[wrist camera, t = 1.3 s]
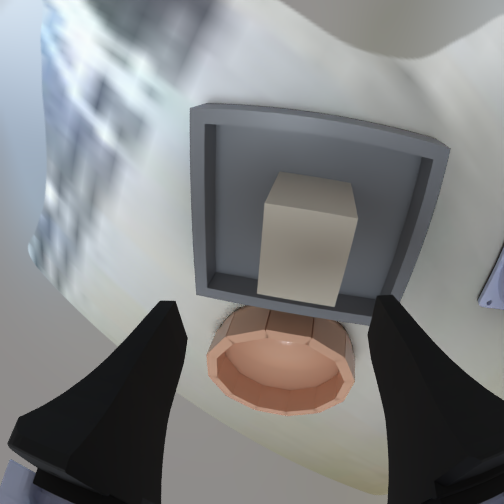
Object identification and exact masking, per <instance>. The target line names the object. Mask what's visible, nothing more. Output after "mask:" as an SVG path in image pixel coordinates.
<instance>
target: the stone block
mask: <svg viewBox="0 0 504 504" xmlns="http://www.w3.org/2000/svg"><path fill="white" fill-rule="evenodd" d="M357 221H358V216H357V210H356V205H355V200H354V195H353V190H352V186H351V183H348V182H342V181H337V180H331V179H325V178H319V177H313V176H306V175H300V174H293V173H286V172H279V173H278V176H277V178H276V180H275V182H274V184H273V186H272V188H271V190H270V193H269V195H268V197H267V199H266V201H265V204H264V216H263V228H262V240H261V252H260V264H259V276H258V288H257V294H262V295H267V296H273V297H278V298H284V299H290V300H295V301H301V302H307V303H313V304H319V305H325V306H331V307H334V306H335V303H336V300H337V296H338V293H339V290H340V286H341V283H342V279H343V276H344V272H345V268H346V265H347V261H348V257H349V253H350V249H351V246H352V242H353V238H354V233H355V229H356V225H357Z"/></svg>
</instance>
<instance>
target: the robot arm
mask: <svg viewBox="0 0 504 504" xmlns="http://www.w3.org/2000/svg"><path fill="white" fill-rule="evenodd" d="M478 303H479V305H480V306H481V307H487V308H495V309H502V310H504V248H503V250H502V252H501V254H500V257H499V259H498V261H497V263H496V265H495V267H494V269H493V272H492V274H491V276H490V278H489V280H488V282H487V284H486V285H485V287H484V289H483V291H482V293H481V295H480V297H479V299H478ZM187 339H188V338H187V335H186V332H185V329H184V326H183V323H182V320H181V317H180V314H179V311H178V308H177V304H176V301H159V303H158V304H157V305H156V306H155V307H154V308H153V309H152V310H151V311H150V312H149V314H148V315H147V316H146V317H145V318H144V319H143V320H142V321H141V323H140V324H139V325H138V326H137V327H136V328H135V329H134V330H133V332H132V333H131V334H130V335H129V336H128V337H127V338H126V339H125V340H124V341H123V342H122V343H121V344H120V345H119V346H118V348H117V349H116V350H115V351H114V352H113V353H112V354H111V355H110V356H109V357H108V358H107V359H106V360H104V361H103V362H102V363H101V364H100V365H99V366H98V367H97V368H96V369H94V370H93V371H92V372H91V373H90V374H89V375H87V376H86V377H85V378H84V379H82V380H81V381H80V382H78V383H77V384H75V385H74V386H73V387H71V388H70V389H69V390H67V391H66V392H64V393H63V394H61V395H60V396H58V397H57V398H55V399H53V400H52V401H50V402H48V403H47V404H45V405H43V406H41V407H39V408H38V409H35V410H33V411H31V412H29V413H27V414H25V415H23V416H20V417H19V418H18V420H17V423H16V425H15V427H14V430H13V432H12V434H11V436H10V439H9V441H8V446H9V448H10V449H12V450H13V451H14V452H15V453H17V454H18V455H19V456H21V457H22V458H24V459H25V460H27V461H28V462H30V463H31V464H33V465H34V466H36V467H37V468H38V469H37V472H36V473H35V472H33V471H31V470H30V469H28V468H26V467H24V466H22V465H20V464H18V463H17V462H15V461H13V460H12V459H11V460H9V463H8V466H7V469H6V471H5V474H4V477H3V480H2V483H1V486H0V504H161V478H162V463H163V453H164V444H165V436H166V430H167V423H168V418H169V413H170V409H171V406H172V402H173V399H174V395H175V392H176V388H177V385H178V382H179V378H180V374H181V371H182V367H183V364H184V359H185V353H186V346H187ZM368 341H369V348H370V355H371V360H372V364H373V368H374V372H375V376H376V380H377V384H378V388H379V392H380V396H381V400H382V404H383V408H384V414H385V420H386V429H387V440H388V459H389V486H388V503H387V504H504V400H502V399H501V398H499V397H498V396H496V395H494V394H493V393H492V392H490V391H489V390H487V389H486V388H485V387H483V386H482V385H481V384H479V383H478V382H477V381H475V380H474V379H473V378H472V377H470V376H469V375H468V374H467V373H466V372H464V371H463V370H462V369H461V368H460V367H459V366H458V365H457V364H456V363H454V362H453V361H452V360H451V359H450V358H449V357H448V356H447V355H446V354H445V353H444V352H443V351H442V350H441V349H440V348H439V347H438V346H437V345H436V344H435V343H434V342H433V340H432V339H431V338H430V337H429V336H428V335H427V334H426V333H425V332H424V330H423V329H422V328H421V327H420V326H419V325H418V324H417V322H416V321H415V320H414V319H413V318H412V317H411V315H410V314H409V313H408V312H407V311H406V310H405V308H404V307H403V306H402V305H401V304H400V302H399V301H398V300H397V299H396V298H395V297H394V296H393V295H378V296H377V297H376V302H375V306H374V310H373V315H372V319H371V323H370V327H369V331H368Z"/></svg>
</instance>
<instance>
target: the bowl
mask: <svg viewBox="0 0 504 504" xmlns="http://www.w3.org/2000/svg"><path fill="white" fill-rule="evenodd" d="M207 365H208V376H209V377H210V378H211V379H212V381H213V382H214V383H215V384H216V385H217V386H218V387H219V388H220V389H221V390H222V392H223V393H224V394H225V395H227V396H228V397H230V398H232V399H234V400H236V401H238V402H240V403H242V404H244V405H246V406H248V407H250V408H252V409H255V410H258V411H263V412H268V413H274V414H279V415H285V416H292V415H304V414H314V413H318V412H319V413H320V412H322V411H324V410H326V409H328V408H330V407H333V406H335V405H337V404H339V403H341V402H343V401H344V400H345V398H346V396H347V394H348V393H349V391H350V389H351V387H352V386H353V384H354V382H355V355H354V353H353V350H352V343H351V340H350V337H349V335H348V333H347V332H346V331H345V329H344V328H343V327H342V326H341V325H340V324H339V323H338V322H337V321H335V320H329V319H322V318H316V317H310V316H304V315H298V314H293V313H287V312H281V311H276V310H270V309H265V308H260V307H254V306H249V305H248V306H245V307H243V308H240V309H238V310H237V311H235V312H233V313H232V314H231V315H230V316H228V317H227V318H226V320H225V321H224V322H223V324H222V326H221V327H220V328H219V329H218V330H217V331H216V334H215V336H214V338H213V341H212V343H211V345H210V348H209V350H208V353H207Z"/></svg>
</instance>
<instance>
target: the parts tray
mask: <svg viewBox="0 0 504 504" xmlns="http://www.w3.org/2000/svg"><path fill="white" fill-rule="evenodd" d="M450 149H451V148H449V147H448V146H446V145H445V144H443V143H442V142H440V141H439V140H437V139H435V138H432V137H429V136H425V135H421V134H418V133H414V132H410V131H406V130H402V129H398V128H394V127H390V126H386V125H381V124H377V123H372V122H367V121H362V120H357V119H352V118H346V117H341V116H335V115H329V114H322V113H315V112H308V111H301V110H293V109H284V108H274V107H264V106H251V105H236V104H214V103H206V104H202V105H199V106H196V107H192V108H190V179H191V210H192V233H193V252H194V268H195V283H196V295H200V296H205V297H210V298H214V299H219V300H224V301H229V302H234V303H239V304H244V305H249V306H254V307H260V308H265V309H270V310H276V311H281V312H287V313H293V314H298V315H304V316H310V317H316V318H322V319H329V320H335V321H342V322H348V323H355V324H362V325H369V326H370V323H371V319H372V315H373V310H374V306H375V302H376V297H377V296H378V295H393V296H394V297H395V298H396V299H397V300H398V301H399V302H400V300H401V298H402V296H403V293H404V291H405V289H406V286H407V284H408V281H409V279H410V277H411V274H412V272H413V269H414V266H415V264H416V261H417V259H418V256H419V253H420V251H421V248H422V245H423V242H424V239H425V237H426V234H427V231H428V228H429V225H430V222H431V219H432V215H433V212H434V209H435V206H436V202H437V199H438V196H439V192H440V189H441V185H442V181H443V178H444V174H445V170H446V166H447V162H448V158H449V153H450ZM279 172H286V173H293V174H300V175H306V176H313V177H319V178H325V179H331V180H337V181H342V182H348V183H351V186H352V190H353V195H354V200H355V205H356V210H357V216H358V221H357V225H356V229H355V233H354V238H353V242H352V246H351V249H350V253H349V257H348V261H347V265H346V268H345V272H344V276H343V279H342V283H341V286H340V290H339V293H338V296H337V300H336V303H335V306H334V307H331V306H325V305H319V304H313V303H307V302H301V301H295V300H290V299H284V298H278V297H273V296H267V295H262V294H257V288H258V276H259V264H260V252H261V240H262V228H263V216H264V204H265V201H266V199H267V197H268V195H269V193H270V190H271V188H272V186H273V184H274V182H275V180H276V178H277V176H278V173H279Z"/></svg>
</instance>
